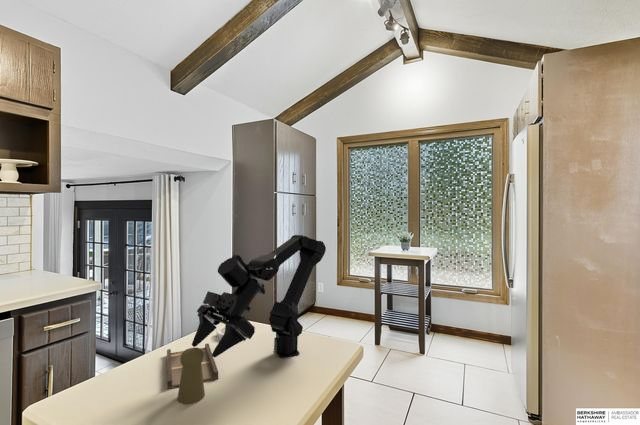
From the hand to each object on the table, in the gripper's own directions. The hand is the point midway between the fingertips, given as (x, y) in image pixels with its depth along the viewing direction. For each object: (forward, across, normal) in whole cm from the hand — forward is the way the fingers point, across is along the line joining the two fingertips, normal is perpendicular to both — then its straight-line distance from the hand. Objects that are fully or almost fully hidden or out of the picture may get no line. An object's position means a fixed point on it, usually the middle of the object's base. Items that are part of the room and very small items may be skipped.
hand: (202, 351), depth 76 cm
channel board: (+3, -15, +10) cm, 18 cm away
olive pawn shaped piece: (+9, 0, +5) cm, 10 cm away
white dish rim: (-13, -26, +26) cm, 39 cm away
